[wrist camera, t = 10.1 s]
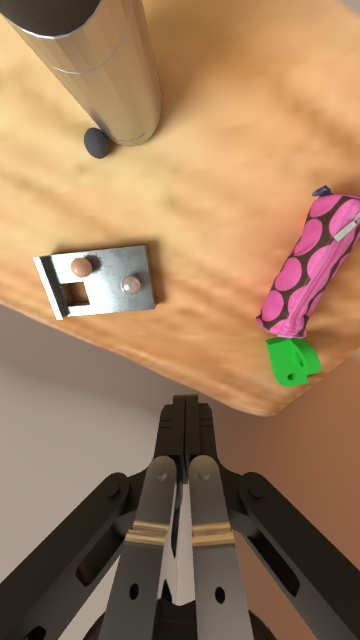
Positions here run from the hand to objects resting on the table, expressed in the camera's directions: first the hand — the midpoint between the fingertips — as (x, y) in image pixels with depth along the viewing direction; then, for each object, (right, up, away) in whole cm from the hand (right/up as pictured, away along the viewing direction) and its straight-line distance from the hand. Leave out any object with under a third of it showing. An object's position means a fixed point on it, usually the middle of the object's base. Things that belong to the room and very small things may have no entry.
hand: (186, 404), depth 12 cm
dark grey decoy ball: (-12, +30, +15) cm, 35 cm away
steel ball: (-9, +11, +21) cm, 25 cm away
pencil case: (+20, +14, +23) cm, 33 cm away
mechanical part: (+22, -3, +30) cm, 38 cm away
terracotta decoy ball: (-16, +14, +20) cm, 29 cm away
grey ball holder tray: (-14, +13, +25) cm, 31 cm away
